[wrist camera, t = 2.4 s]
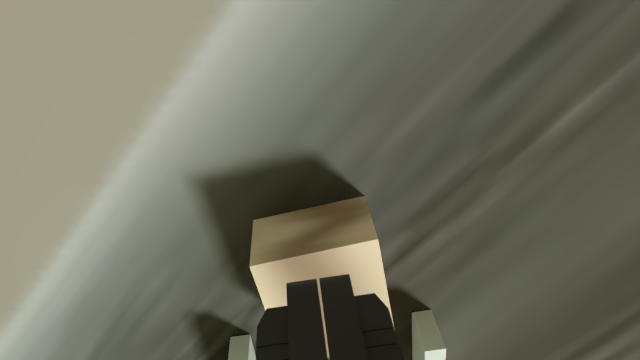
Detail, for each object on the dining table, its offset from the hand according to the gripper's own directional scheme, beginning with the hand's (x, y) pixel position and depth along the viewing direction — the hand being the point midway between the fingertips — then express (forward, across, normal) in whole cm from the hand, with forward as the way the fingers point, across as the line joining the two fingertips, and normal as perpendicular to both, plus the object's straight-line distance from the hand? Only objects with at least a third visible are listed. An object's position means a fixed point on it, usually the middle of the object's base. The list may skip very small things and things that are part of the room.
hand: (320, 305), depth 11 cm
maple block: (+13, 0, +9) cm, 15 cm away
